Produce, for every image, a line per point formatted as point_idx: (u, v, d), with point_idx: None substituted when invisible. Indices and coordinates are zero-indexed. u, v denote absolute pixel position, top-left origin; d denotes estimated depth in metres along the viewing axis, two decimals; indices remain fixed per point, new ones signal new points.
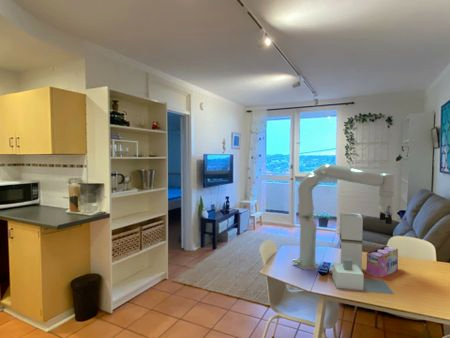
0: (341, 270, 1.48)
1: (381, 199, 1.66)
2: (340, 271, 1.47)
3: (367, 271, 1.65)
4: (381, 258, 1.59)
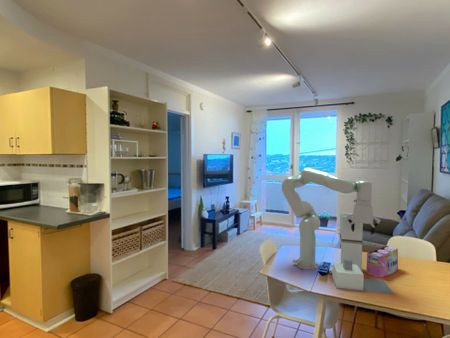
0: (341, 270, 1.48)
1: (364, 209, 1.53)
2: (340, 271, 1.47)
3: (367, 271, 1.64)
4: (381, 259, 1.59)
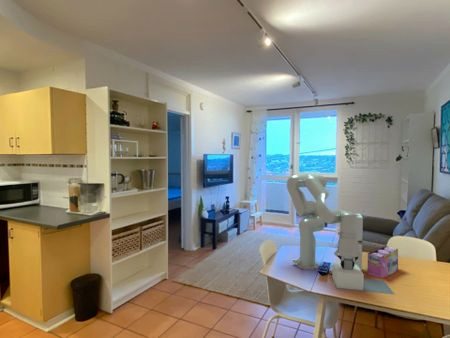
0: (341, 270, 1.48)
1: (350, 242, 1.48)
2: (340, 271, 1.47)
3: (368, 272, 1.64)
4: (382, 259, 1.59)
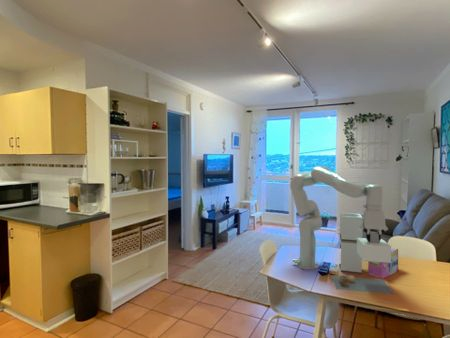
0: (367, 243, 1.45)
1: (376, 215, 1.44)
2: (366, 244, 1.44)
3: (369, 272, 1.63)
4: None
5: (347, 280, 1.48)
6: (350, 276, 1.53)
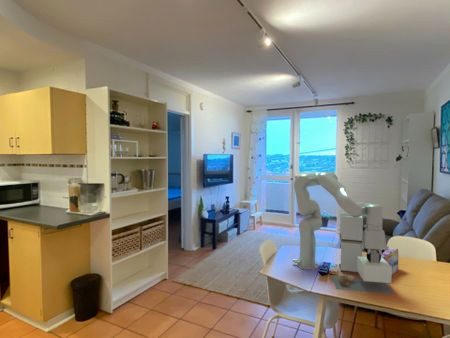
0: (368, 263, 1.45)
1: (377, 235, 1.45)
2: (367, 264, 1.44)
3: None
4: None
5: (347, 280, 1.48)
6: (350, 276, 1.53)
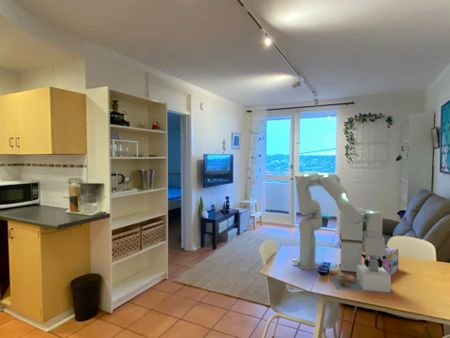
0: (367, 272, 1.46)
1: (376, 241, 1.45)
2: (366, 273, 1.45)
3: None
4: (384, 260, 1.57)
5: (347, 280, 1.48)
6: (350, 276, 1.53)
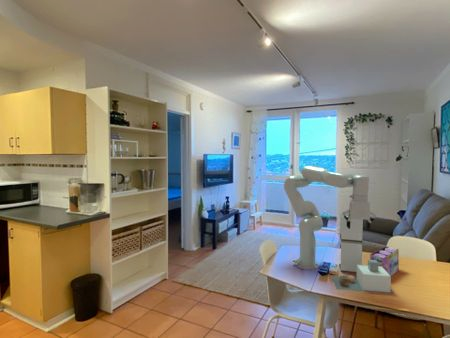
0: (367, 272, 1.46)
1: (362, 205, 1.47)
2: (366, 273, 1.45)
3: None
4: (385, 260, 1.57)
5: (347, 280, 1.48)
6: (350, 276, 1.53)
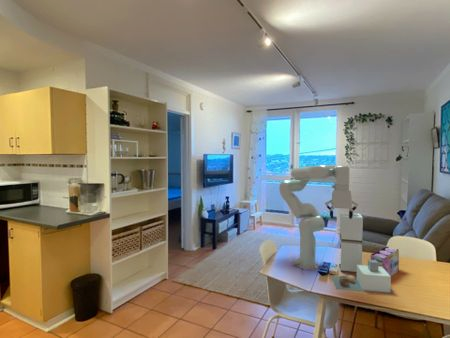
0: (367, 272, 1.46)
1: (343, 194, 1.51)
2: (366, 273, 1.45)
3: None
4: (385, 260, 1.57)
5: (347, 280, 1.48)
6: (350, 276, 1.53)
